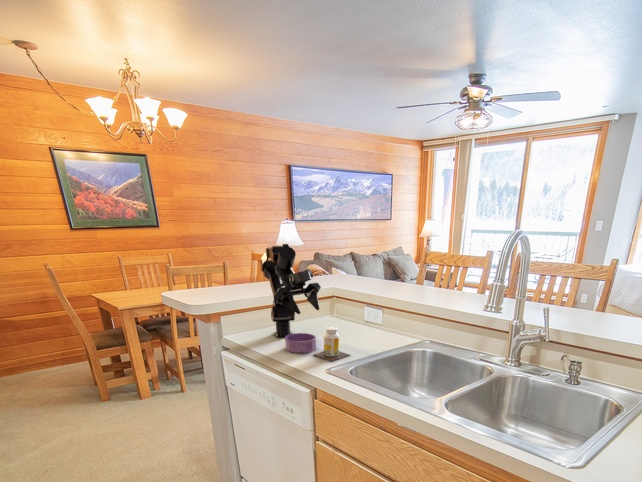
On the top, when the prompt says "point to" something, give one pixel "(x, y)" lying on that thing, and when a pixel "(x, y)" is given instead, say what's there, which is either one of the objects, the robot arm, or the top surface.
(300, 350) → the dish
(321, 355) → the coaster
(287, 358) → the top surface
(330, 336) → the supplement bottle
